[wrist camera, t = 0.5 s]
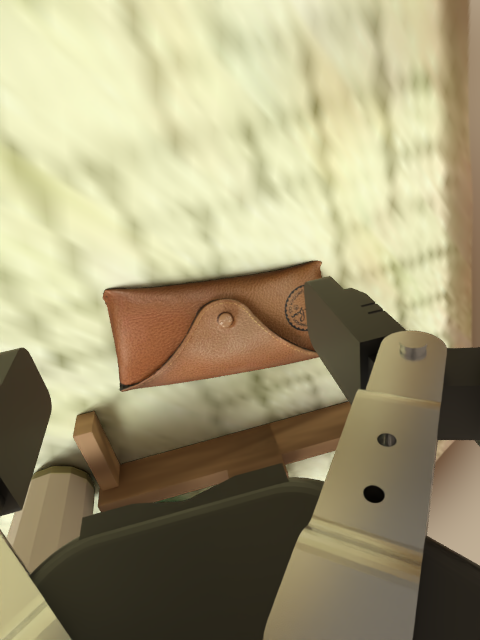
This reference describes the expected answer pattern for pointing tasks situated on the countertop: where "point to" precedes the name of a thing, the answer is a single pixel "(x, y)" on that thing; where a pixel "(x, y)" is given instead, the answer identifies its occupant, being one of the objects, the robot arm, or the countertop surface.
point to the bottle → (51, 513)
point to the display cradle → (205, 456)
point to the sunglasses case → (210, 327)
